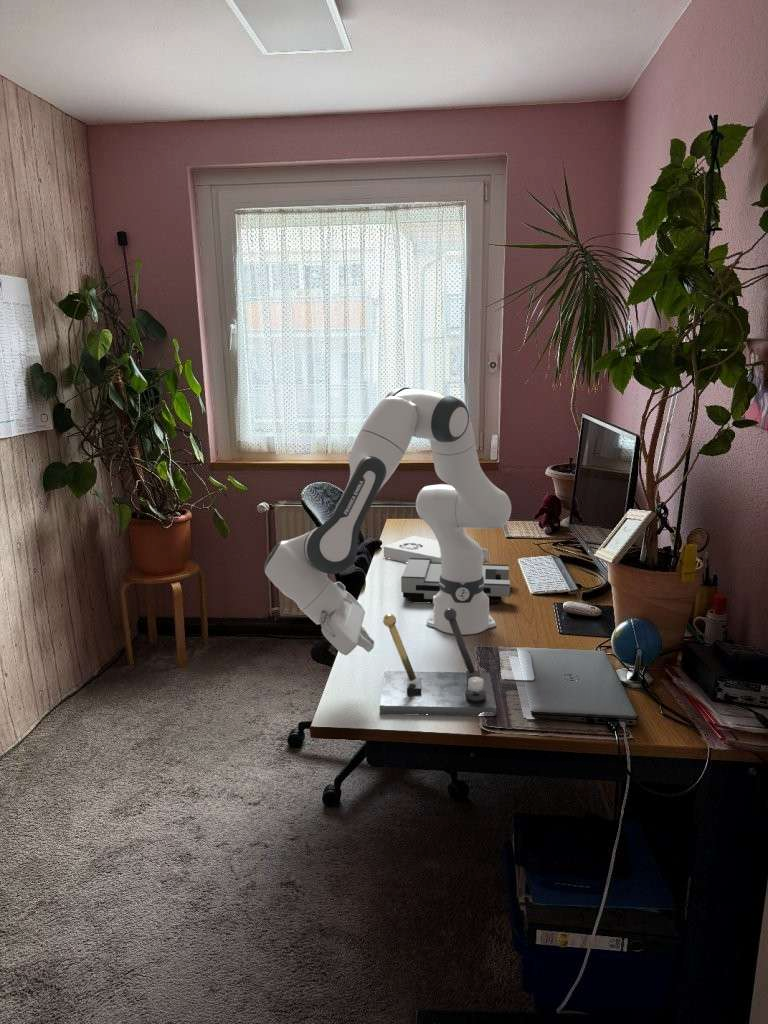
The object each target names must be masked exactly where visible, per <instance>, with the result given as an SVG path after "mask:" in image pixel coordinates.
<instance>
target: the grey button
mask: <svg viewBox="0 0 768 1024" xmlns="http://www.w3.org/2000/svg"><path fill="white" fill-rule="evenodd" d="M483 683H484V680H483V679H482V678H480V677H471V678H469V679H468V689H469V690H470V691H474V692H479V691H482V690H483Z"/></svg>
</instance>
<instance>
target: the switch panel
mask: <svg viewBox="0 0 768 1024" xmlns="http://www.w3.org/2000/svg"><path fill="white" fill-rule="evenodd" d="M414 674H415V676H416V679H415V680H413V681H409V678H408V676H407V673H406V671H403V670H402V671H401V670H400V671H398V670H397V671H395V670H384V674H383V678H382V679H383V681H382V686H381V687H382V688H381V692H380V693H381V694H380V700H379V715H389V714H419V715H418V716H435V715H450V716H449V717H479V716H478V715H479V714H480V713H482V712H493V713H496V714H497V705H496V704H497V703H496V699H495V694H494V693H495V692H494V688H493V683H492V678H491V673H490V672H480V670H475V672H474V673H472V674H469V673H468V671H467V670H465V672H461V671H460V672H458V671H457V672H453V671H452V672H450V671H448V672H447V671H414ZM471 677H480V678H482V679H483V680H484V683H483V690H482V691H479V692H474V691H470V690H469V689H468V679H469V678H471ZM422 714H423V715H422ZM426 714H428V715H426ZM454 715H455V716H454ZM458 715H460V716H458Z"/></svg>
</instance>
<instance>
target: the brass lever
mask: <svg viewBox="0 0 768 1024" xmlns="http://www.w3.org/2000/svg"><path fill="white" fill-rule="evenodd" d="M382 622H383V625H384V626H385V627H387V628H388V631H389V632H390V635H391V638H392V640H393V643H394V645H395V647H396V651H397V654H398V655H399V658H400V660H401V663H402V666H403V668H404V670H405V671H406V673H407V676H408V678H409V681H413V680H415V679H416V676H415V674H414V672H415V671H414V669H413V667H412V663H411V661H410V659H409V657H408V653H407V651H406V648H405V645H404V644H403V640H402V639H401V636H400V633H399V631H398V628H397V626H396V624H397V619H396V616H395V615H394V614H392V613H387V614H385V615H384V616H383V619H382Z"/></svg>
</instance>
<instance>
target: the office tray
mask: <svg viewBox="0 0 768 1024" xmlns="http://www.w3.org/2000/svg"><path fill="white" fill-rule="evenodd" d="M509 569H510V567H509V564H495V563H494V564H493V563H491V564H490V563H483V564H482V575H483V577H484V590H483V592H484V593H485V594H486V595H487V597H489V607H492V606H493V602H502V597H506V598H507V597H508V598H509V597H510V596H511V581H510V579H509V577H510V575H509V574H510V570H509ZM440 575H441V563H438V562H430V559H426V558H409V560H408V563H406V565H405V567H404V570H403V572H402V575H401V580H400V585H401V587H400V588H401V593H402V598H406V599H407V598H409V599H408V602H409V603H414V602H430V603H429V604H434V603H433V596H436V594H437V593H438V592H439V591H440V588H439V586H440V584H439V579H440Z"/></svg>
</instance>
